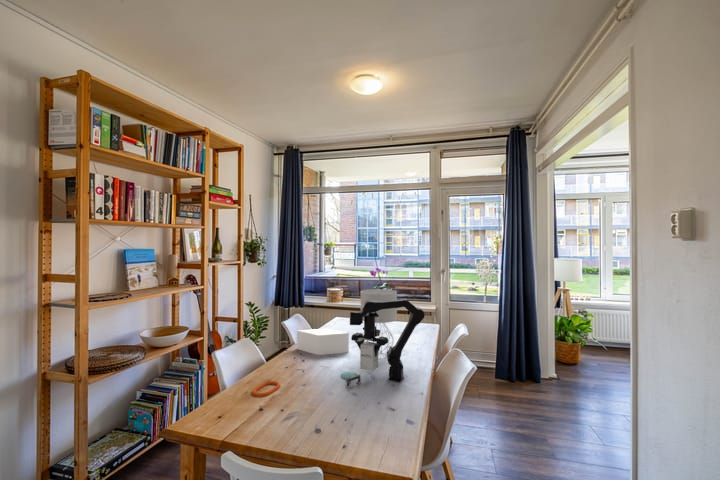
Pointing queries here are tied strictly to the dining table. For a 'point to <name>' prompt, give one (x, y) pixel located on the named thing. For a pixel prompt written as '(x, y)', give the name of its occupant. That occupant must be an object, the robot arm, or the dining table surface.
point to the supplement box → (368, 356)
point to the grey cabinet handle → (352, 380)
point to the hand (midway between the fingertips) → (369, 355)
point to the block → (322, 341)
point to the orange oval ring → (268, 391)
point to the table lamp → (384, 314)
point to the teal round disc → (344, 375)
